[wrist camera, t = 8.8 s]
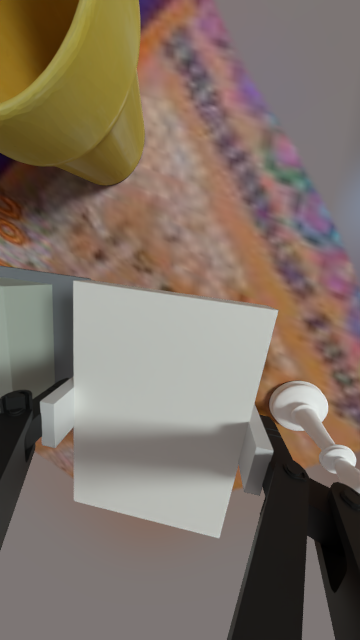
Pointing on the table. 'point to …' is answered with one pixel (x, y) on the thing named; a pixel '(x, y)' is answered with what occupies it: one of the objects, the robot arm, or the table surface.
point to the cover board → (163, 400)
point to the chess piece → (314, 427)
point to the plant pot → (71, 86)
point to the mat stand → (35, 329)
